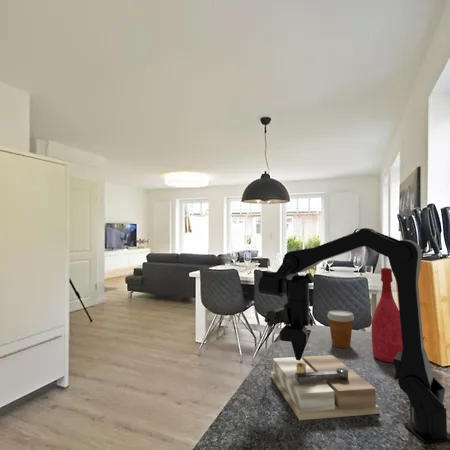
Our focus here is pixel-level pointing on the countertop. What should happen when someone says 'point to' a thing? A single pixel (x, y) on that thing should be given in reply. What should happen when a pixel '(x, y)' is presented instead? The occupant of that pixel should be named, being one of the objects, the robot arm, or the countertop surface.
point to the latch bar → (321, 373)
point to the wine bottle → (386, 323)
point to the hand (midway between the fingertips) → (298, 359)
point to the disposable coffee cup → (340, 328)
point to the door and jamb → (323, 389)
